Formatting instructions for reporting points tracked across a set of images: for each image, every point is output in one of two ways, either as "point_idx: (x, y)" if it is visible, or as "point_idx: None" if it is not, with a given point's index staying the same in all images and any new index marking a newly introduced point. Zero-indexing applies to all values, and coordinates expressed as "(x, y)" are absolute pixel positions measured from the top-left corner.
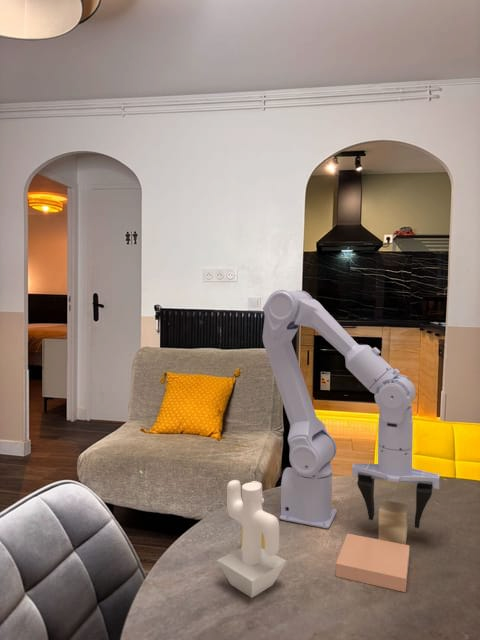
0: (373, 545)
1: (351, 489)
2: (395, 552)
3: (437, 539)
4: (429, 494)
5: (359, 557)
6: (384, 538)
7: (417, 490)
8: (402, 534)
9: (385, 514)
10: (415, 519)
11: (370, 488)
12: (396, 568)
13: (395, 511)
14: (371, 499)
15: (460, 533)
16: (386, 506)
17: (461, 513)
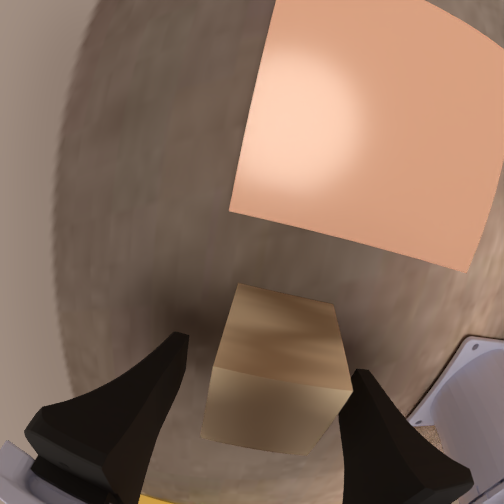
0: (397, 185)
1: (326, 487)
2: (306, 131)
3: (135, 329)
4: (34, 421)
5: (457, 84)
6: (313, 306)
7: (95, 470)
8: (245, 307)
9: (320, 373)
10: (174, 353)
11: (422, 480)
12: (318, 9)
13: (267, 389)
14: (387, 435)
15: (87, 356)
16: (302, 421)
17: None
